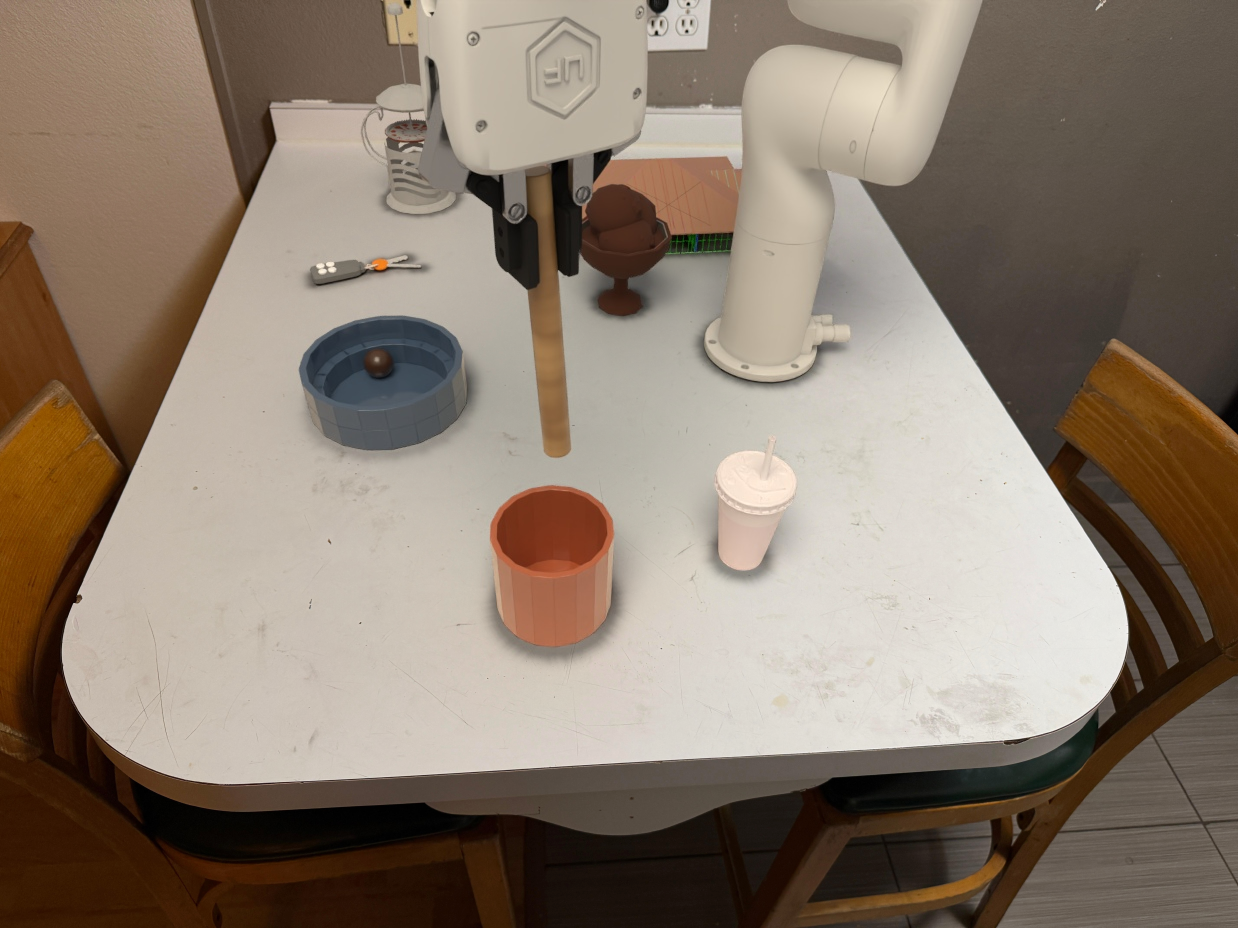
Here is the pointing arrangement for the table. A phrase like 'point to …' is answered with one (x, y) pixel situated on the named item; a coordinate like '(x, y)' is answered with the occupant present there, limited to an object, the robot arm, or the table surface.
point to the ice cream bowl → (622, 242)
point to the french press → (409, 187)
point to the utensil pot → (552, 564)
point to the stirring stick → (548, 320)
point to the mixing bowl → (384, 382)
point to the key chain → (351, 269)
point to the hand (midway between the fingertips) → (539, 269)
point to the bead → (378, 363)
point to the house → (682, 192)
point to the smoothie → (751, 504)
